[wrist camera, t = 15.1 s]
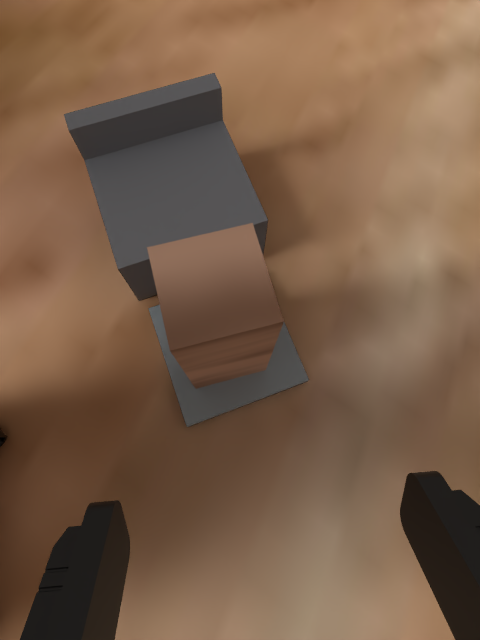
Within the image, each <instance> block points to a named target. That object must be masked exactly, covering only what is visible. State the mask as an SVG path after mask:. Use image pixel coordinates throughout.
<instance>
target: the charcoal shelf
mask: <svg viewBox="0 0 480 640" xmlns="http://www.w3.org/2000/svg"><path fill="white" fill-rule="evenodd" d="M64 116H65V120H66V123H67V126H68V130H69V132H70V134H71V136H72V137H73V139H74V141H75V143H76V145H77V147H78V149H79V151H80V153H81V155H82V156H83V158H84V160H85V164H86V167H87V170H88V173H89V177H90V180H91V183H92V186H93V189H94V193H95V196H96V199H97V202H98V206H99V209H100V212H101V215H102V219H103V222H104V225H105V228H106V232H107V235H108V238H109V241H110V245H111V248H112V251H113V254H114V258H115V261H116V264H117V267H118V270H119V271H120V273H121V274H122V276H123V277H124V279H125V280H126V282H127V283H128V285H129V286H130V288H131V289H132V291H133V292H134V294H135V296H136V297H137V299H138V300H139V301H140V300H143V299H146V298H149V297H152V296H155V295H157V290H156V286H155V281H154V277H153V272H152V268H151V263H150V259H149V254H148V250H147V247H151V246H155V245H160V244H164V243H168V242H172V241H177V240H181V239H185V238H190V237H194V236H198V235H203V234H207V233H211V232H215V231H220V230H224V229H228V228H233V227H237V226H241V225H246V224H250V223H253V226H254V229H255V232H256V235H257V238H258V241H259V245H260V248H261V251H262V254H263V253H264V246H265V239H266V231H267V224H268V219H267V217H266V214H265V212H264V210H263V208H262V206H261V203H260V201H259V199H258V197H257V195H256V192H255V190H254V188H253V186H252V184H251V181H250V179H249V177H248V175H247V173H246V170H245V168H244V166H243V164H242V162H241V159H240V157H239V155H238V153H237V150H236V148H235V146H234V144H233V142H232V139H231V137H230V135H229V133H228V131H227V128H226V126H225V124H224V122H223V115H222V91H221V86H220V84H219V81H218V79H217V77H216V75H215V73H212V74H208V75H205V76H201V77H198V78H194V79H190V80H187V81H183V82H179V83H176V84H172V85H168V86H165V87H161V88H158V89H154V90H150V91H147V92H143V93H139V94H136V95H132V96H128V97H125V98H121V99H118V100H114V101H110V102H107V103H103V104H99V105H96V106H92V107H89V108H85V109H81V110H78V111H74V112H70V113H67V114H64Z"/></svg>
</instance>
